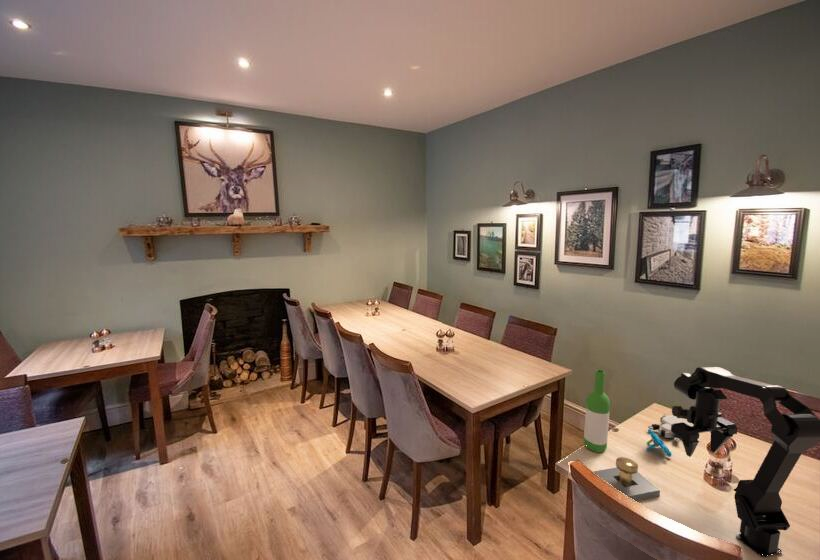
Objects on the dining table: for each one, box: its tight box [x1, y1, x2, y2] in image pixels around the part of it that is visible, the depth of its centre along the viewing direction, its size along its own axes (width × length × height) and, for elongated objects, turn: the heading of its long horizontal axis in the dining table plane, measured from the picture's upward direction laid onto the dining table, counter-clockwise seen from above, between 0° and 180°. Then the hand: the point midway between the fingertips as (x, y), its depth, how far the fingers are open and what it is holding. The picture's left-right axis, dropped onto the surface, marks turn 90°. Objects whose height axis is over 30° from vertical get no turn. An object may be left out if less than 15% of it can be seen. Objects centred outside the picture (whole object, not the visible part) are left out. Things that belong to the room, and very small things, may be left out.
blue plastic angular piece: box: [646, 428, 673, 457], centre depth 135 cm, size 11×6×10 cm
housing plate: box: [592, 466, 661, 502], centre depth 117 cm, size 12×14×2 cm
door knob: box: [615, 456, 639, 487], centre depth 116 cm, size 6×6×8 cm
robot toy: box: [647, 412, 694, 442], centre depth 146 cm, size 12×4×15 cm
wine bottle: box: [583, 369, 611, 453], centre depth 135 cm, size 8×8×30 cm
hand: (700, 453), depth 114 cm, fingers open, 9 cm apart
